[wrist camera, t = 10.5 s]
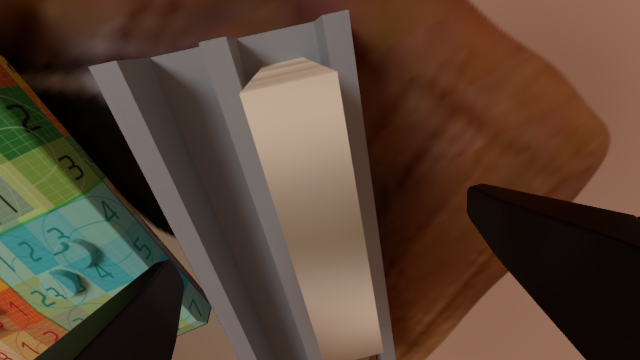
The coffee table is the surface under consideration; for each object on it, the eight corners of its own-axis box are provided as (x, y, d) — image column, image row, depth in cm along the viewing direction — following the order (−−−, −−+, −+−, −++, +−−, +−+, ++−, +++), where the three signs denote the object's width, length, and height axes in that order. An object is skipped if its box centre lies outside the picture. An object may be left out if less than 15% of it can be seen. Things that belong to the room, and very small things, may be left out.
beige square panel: (335, 213, 18) (383, 352, 10) (303, 221, 18) (325, 367, 10) (303, 57, 14) (337, 71, 6) (262, 66, 14) (239, 93, 6)
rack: (384, 329, 25) (404, 384, 21) (271, 358, 25) (269, 419, 21) (336, 18, 15) (359, 6, 11) (141, 61, 14) (88, 66, 10)
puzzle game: (29, 411, 17) (-505, 99, 9) (78, 339, 22) (-252, 82, 13) (203, 337, 17) (-192, -76, 8) (218, 279, 21) (-32, -34, 12)
